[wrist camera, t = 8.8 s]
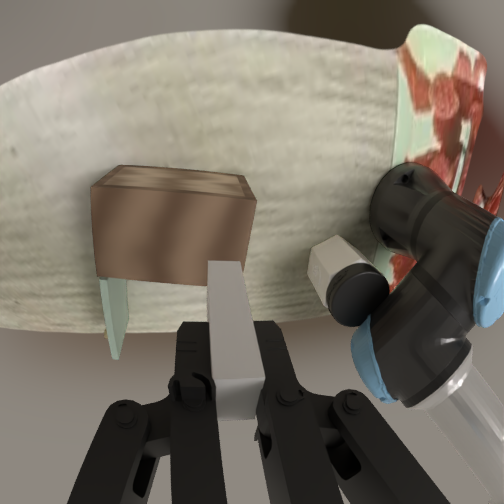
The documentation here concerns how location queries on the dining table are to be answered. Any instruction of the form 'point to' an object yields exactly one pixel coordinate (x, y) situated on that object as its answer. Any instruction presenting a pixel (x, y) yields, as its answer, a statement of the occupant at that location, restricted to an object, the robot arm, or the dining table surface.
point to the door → (114, 312)
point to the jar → (346, 281)
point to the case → (169, 223)
